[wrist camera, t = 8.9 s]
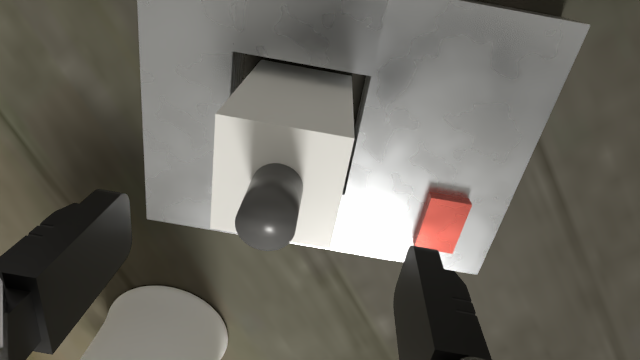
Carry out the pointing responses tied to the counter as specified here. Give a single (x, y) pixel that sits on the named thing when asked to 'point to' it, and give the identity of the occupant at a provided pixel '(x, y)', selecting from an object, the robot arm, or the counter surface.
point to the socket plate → (366, 108)
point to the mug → (159, 328)
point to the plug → (282, 156)
